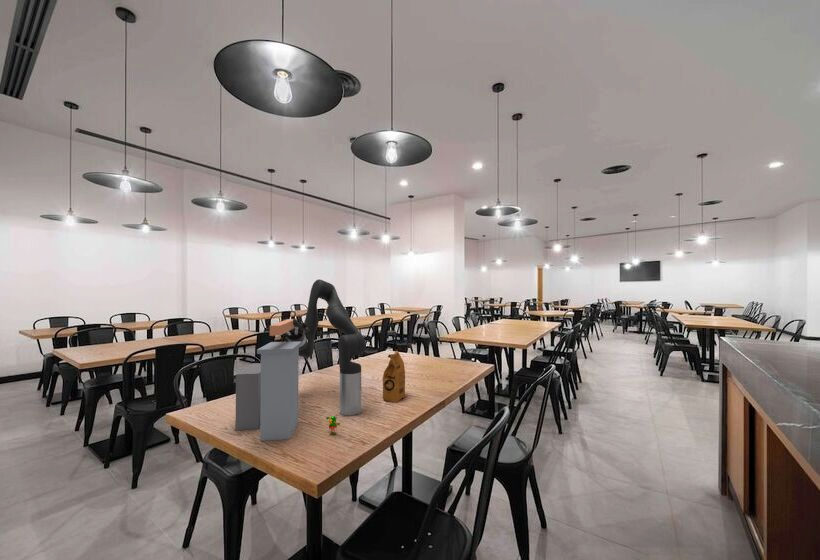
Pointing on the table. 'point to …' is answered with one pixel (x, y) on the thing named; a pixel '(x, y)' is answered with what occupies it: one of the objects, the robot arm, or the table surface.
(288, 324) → the bar
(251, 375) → the shelf
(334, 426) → the toy character
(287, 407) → the pedestal
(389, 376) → the coffee package
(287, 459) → the table surface
